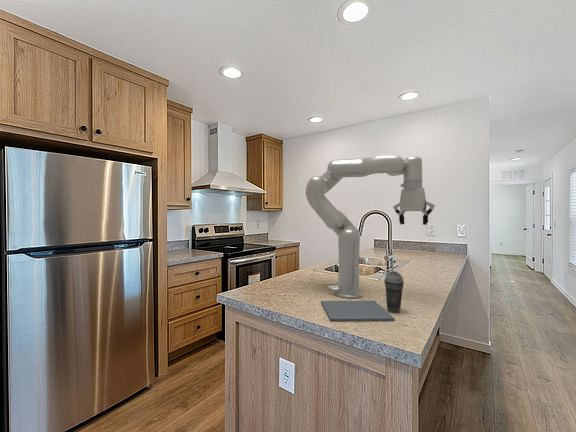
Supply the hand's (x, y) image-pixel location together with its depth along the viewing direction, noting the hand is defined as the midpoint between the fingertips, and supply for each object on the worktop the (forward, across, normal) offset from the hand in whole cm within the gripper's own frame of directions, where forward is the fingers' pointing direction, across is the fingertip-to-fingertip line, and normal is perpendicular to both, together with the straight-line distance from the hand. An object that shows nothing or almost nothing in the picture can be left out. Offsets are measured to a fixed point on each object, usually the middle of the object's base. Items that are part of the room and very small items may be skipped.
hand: (413, 224), depth 122 cm
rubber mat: (+33, -12, -31) cm, 47 cm away
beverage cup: (+34, -1, -20) cm, 39 cm away
